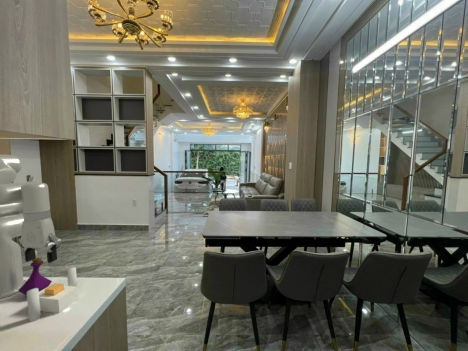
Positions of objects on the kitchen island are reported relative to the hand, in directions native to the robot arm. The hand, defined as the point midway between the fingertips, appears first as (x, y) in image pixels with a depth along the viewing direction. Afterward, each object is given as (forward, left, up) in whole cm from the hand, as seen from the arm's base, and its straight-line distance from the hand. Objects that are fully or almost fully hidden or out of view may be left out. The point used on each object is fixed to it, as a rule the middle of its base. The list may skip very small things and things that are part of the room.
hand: (41, 260), depth 83 cm
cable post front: (+5, -7, -17) cm, 19 cm away
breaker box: (+5, 0, -17) cm, 17 cm away
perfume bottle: (-10, +5, -17) cm, 21 cm away
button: (+5, 0, -14) cm, 15 cm away
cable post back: (+5, +8, -17) cm, 19 cm away
